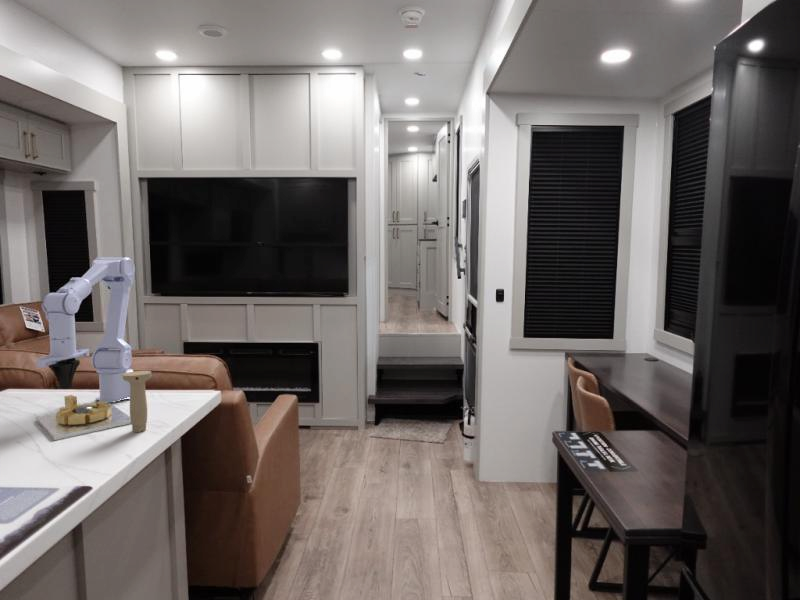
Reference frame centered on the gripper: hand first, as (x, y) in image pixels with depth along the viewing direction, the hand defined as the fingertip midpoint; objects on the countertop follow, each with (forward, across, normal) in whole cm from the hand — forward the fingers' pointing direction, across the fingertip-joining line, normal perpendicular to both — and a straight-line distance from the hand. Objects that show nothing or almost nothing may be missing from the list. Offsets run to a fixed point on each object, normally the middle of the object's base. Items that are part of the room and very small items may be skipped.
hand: (65, 388), depth 134 cm
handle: (+9, +1, +23) cm, 25 cm away
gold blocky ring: (+8, -1, +4) cm, 9 cm away
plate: (+9, -1, +5) cm, 10 cm away
